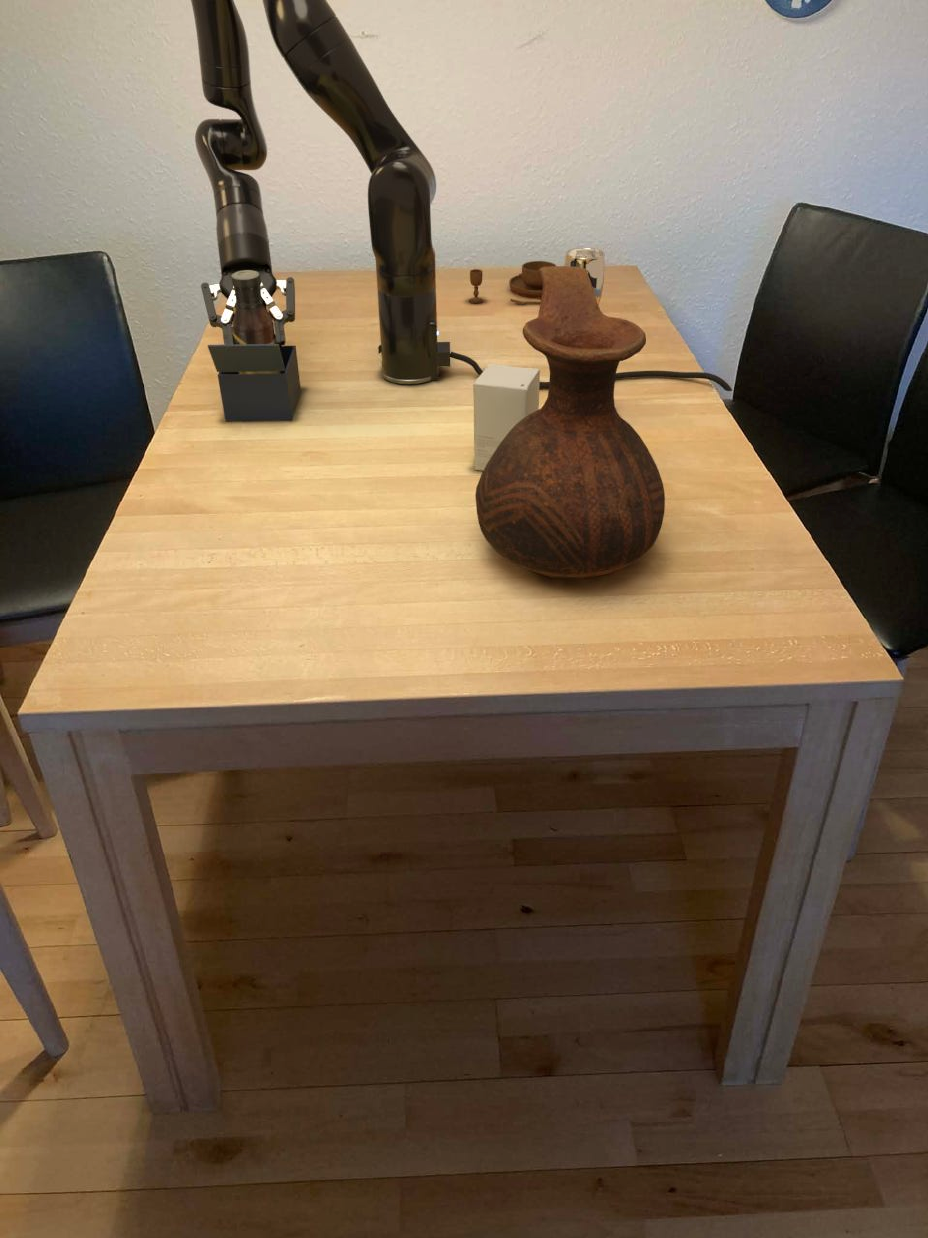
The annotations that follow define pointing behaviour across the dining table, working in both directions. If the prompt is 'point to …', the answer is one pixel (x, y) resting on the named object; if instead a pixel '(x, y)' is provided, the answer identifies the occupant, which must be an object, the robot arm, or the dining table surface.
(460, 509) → the dining table surface
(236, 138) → the robot arm
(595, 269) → the beer glass
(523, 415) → the white packaging box
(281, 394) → the carton
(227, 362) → the flap
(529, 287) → the place setting
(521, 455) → the jug
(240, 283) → the sauce bottle
